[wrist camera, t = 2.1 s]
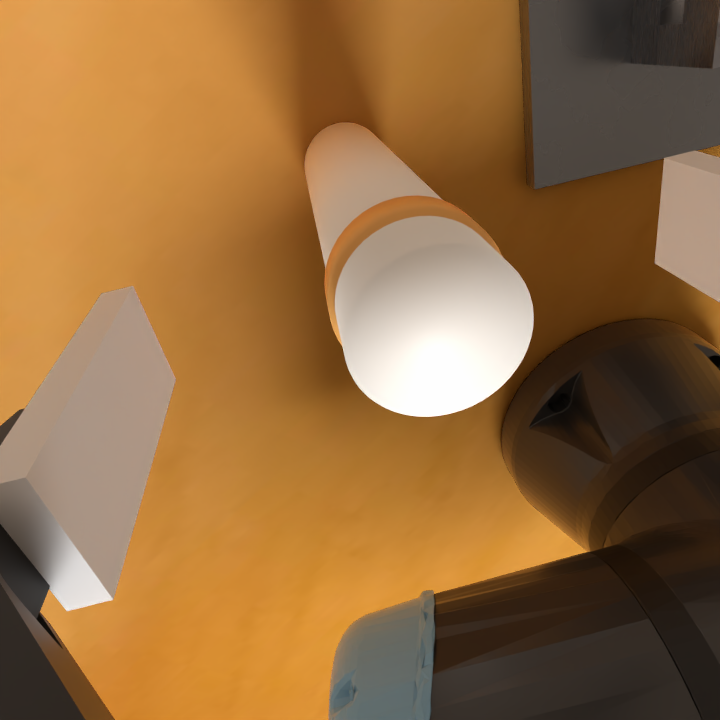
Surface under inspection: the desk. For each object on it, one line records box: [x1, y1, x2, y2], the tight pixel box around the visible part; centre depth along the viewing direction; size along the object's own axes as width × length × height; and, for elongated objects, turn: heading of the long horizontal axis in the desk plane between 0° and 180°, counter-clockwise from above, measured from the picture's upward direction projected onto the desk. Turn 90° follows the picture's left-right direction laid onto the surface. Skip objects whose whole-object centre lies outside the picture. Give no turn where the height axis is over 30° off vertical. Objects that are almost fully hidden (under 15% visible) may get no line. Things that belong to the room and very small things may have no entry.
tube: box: [304, 122, 534, 417], centre depth 19 cm, size 4×4×18 cm
